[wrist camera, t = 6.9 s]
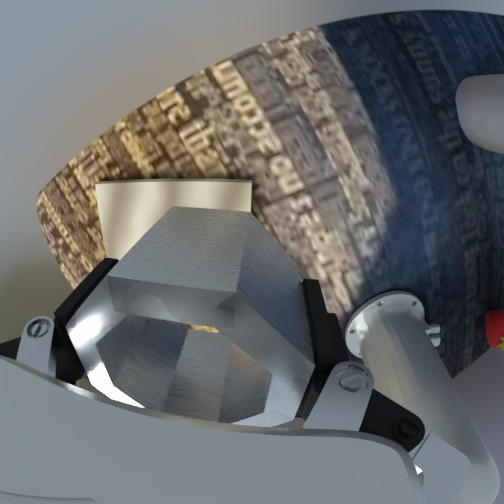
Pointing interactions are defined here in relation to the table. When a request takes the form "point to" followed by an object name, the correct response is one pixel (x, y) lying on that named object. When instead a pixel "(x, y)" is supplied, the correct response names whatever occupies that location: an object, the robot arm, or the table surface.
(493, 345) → the strawberry
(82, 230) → the table surface
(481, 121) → the pillar candle
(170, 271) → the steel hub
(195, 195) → the post board
